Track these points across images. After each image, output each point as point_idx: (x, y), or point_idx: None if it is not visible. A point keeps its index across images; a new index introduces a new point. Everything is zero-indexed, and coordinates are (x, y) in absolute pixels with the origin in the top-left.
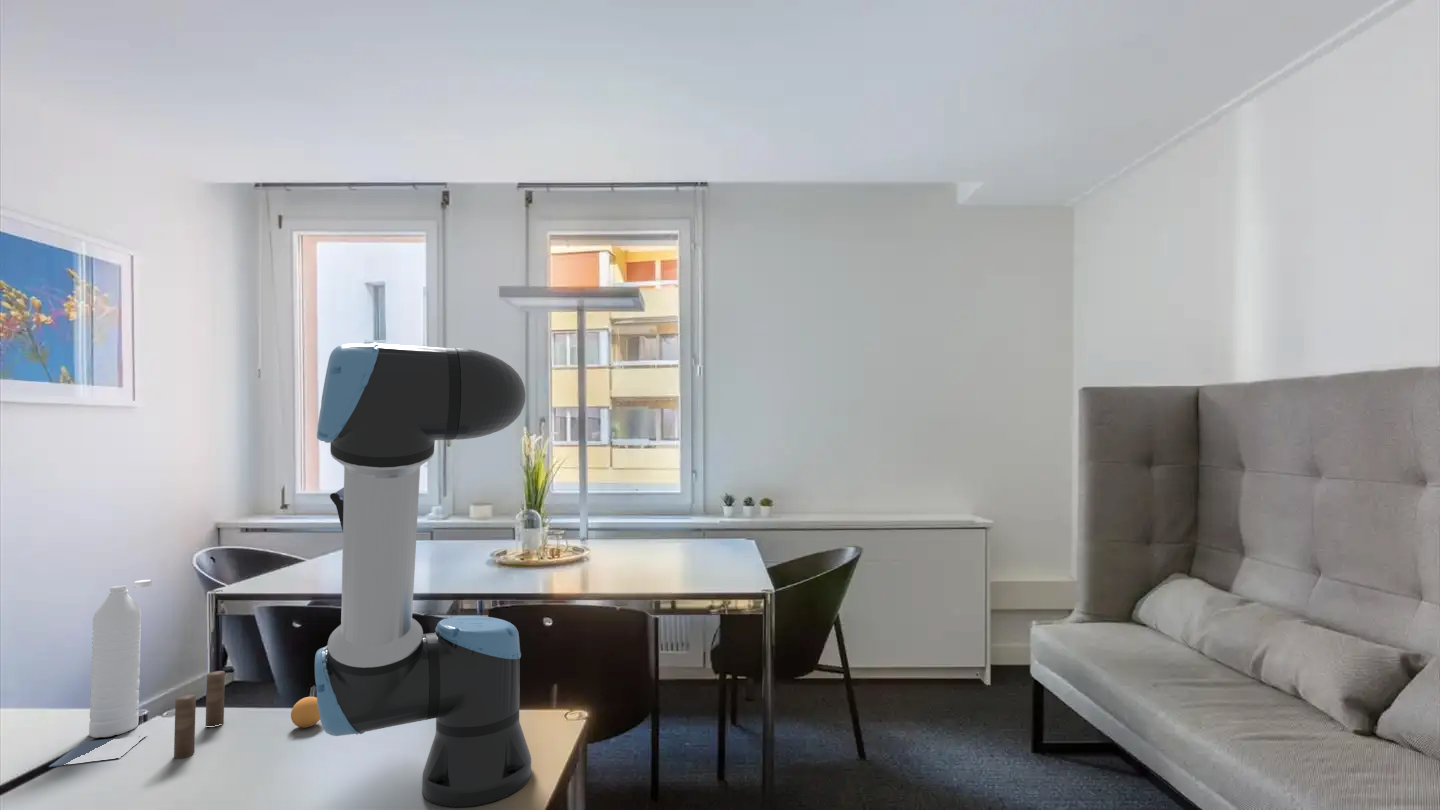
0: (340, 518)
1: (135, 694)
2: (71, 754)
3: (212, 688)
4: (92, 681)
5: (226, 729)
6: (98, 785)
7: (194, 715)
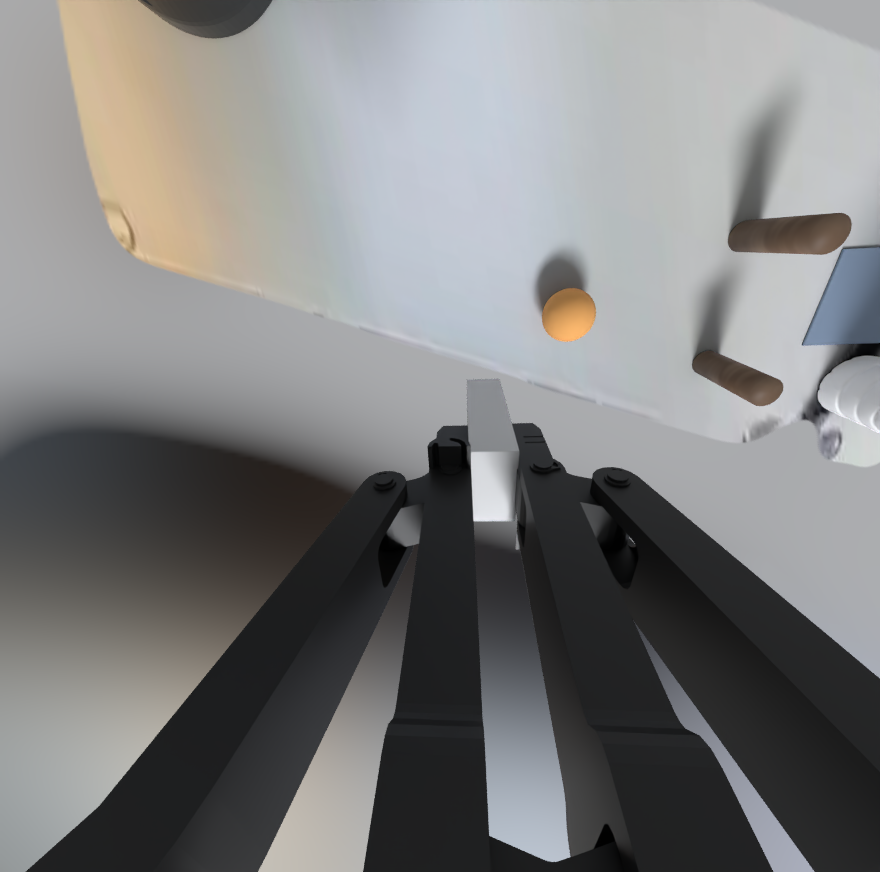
0: (818, 639)
1: (875, 401)
2: None
3: (753, 370)
4: None
5: (685, 337)
6: (874, 124)
7: (779, 234)
